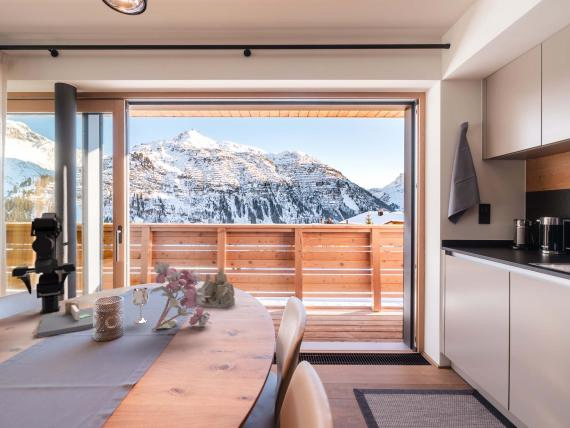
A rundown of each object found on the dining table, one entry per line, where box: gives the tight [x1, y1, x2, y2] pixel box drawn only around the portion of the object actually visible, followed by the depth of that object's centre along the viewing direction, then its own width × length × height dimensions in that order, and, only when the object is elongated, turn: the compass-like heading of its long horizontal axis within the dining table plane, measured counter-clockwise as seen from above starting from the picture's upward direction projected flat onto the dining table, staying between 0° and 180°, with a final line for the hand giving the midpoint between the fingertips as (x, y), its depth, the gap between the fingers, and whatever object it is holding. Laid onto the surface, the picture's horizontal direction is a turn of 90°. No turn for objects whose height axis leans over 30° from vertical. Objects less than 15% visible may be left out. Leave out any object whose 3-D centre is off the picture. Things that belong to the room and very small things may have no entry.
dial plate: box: [36, 307, 94, 338], centre depth 116 cm, size 22×16×2 cm
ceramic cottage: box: [198, 268, 236, 309], centre depth 139 cm, size 16×16×15 cm
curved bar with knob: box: [64, 300, 80, 320], centre depth 119 cm, size 15×4×4 cm, turn 42°
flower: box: [149, 259, 212, 332], centre depth 110 cm, size 20×22×24 cm
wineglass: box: [131, 287, 150, 324], centre depth 117 cm, size 6×6×12 cm
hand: (46, 292), depth 118 cm, fingers open, 9 cm apart
